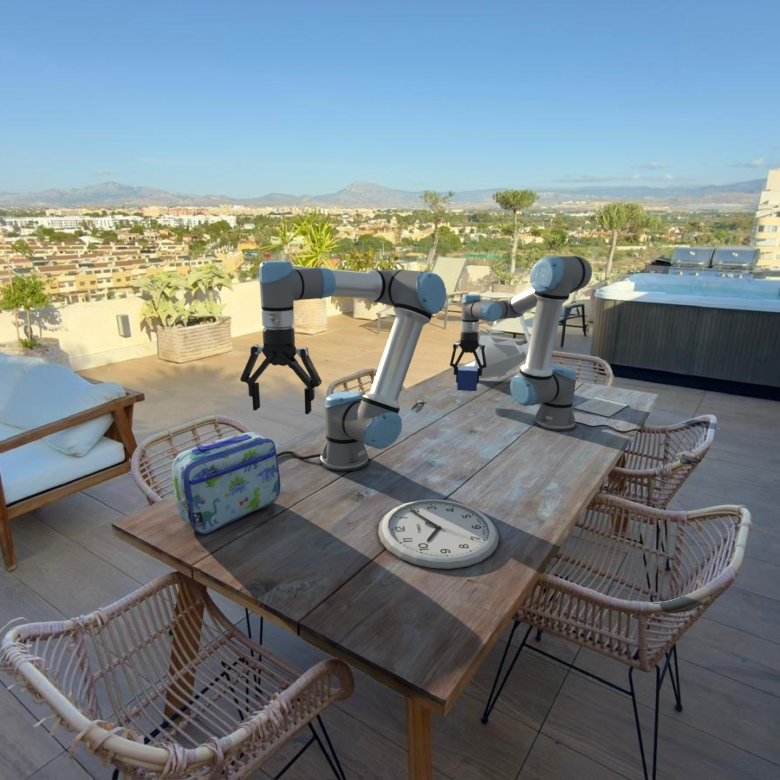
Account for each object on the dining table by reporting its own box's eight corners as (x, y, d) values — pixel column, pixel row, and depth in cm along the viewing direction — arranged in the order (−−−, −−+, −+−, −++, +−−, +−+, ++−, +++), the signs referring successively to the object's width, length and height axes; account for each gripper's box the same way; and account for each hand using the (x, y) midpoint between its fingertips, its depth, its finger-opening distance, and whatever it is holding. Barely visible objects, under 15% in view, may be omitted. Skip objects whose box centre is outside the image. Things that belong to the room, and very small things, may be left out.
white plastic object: (486, 421, 262) (466, 398, 237) (467, 348, 284) (447, 320, 260) (558, 397, 250) (545, 370, 225) (533, 322, 272) (517, 290, 247)
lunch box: (192, 543, 125) (183, 462, 118) (173, 525, 132) (164, 448, 126) (285, 505, 142) (281, 433, 136) (263, 491, 149) (259, 422, 143)
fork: (408, 410, 218) (408, 405, 217) (419, 398, 232) (419, 394, 231) (414, 410, 217) (414, 406, 216) (425, 399, 231) (425, 395, 231)
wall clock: (515, 560, 118) (382, 565, 115) (514, 566, 118) (382, 571, 116) (482, 494, 146) (374, 497, 144) (481, 500, 147) (374, 502, 144)
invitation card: (608, 416, 214) (573, 407, 224) (608, 416, 214) (573, 408, 224) (628, 404, 229) (594, 396, 238) (628, 405, 229) (594, 397, 238)
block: (457, 390, 226) (457, 370, 223) (457, 385, 234) (458, 365, 232) (476, 391, 225) (477, 370, 222) (476, 385, 233) (477, 366, 230)
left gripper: (222, 327, 124) (229, 412, 130) (324, 332, 120) (326, 419, 126) (236, 322, 131) (241, 402, 137) (332, 326, 127) (334, 409, 133)
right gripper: (444, 331, 220) (442, 383, 227) (495, 333, 217) (492, 385, 223) (445, 328, 228) (443, 379, 234) (494, 330, 224) (491, 381, 231)
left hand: (282, 410), depth 132 cm, fingers open, 13 cm apart
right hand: (467, 382), depth 229 cm, fingers closed on block, 8 cm apart
